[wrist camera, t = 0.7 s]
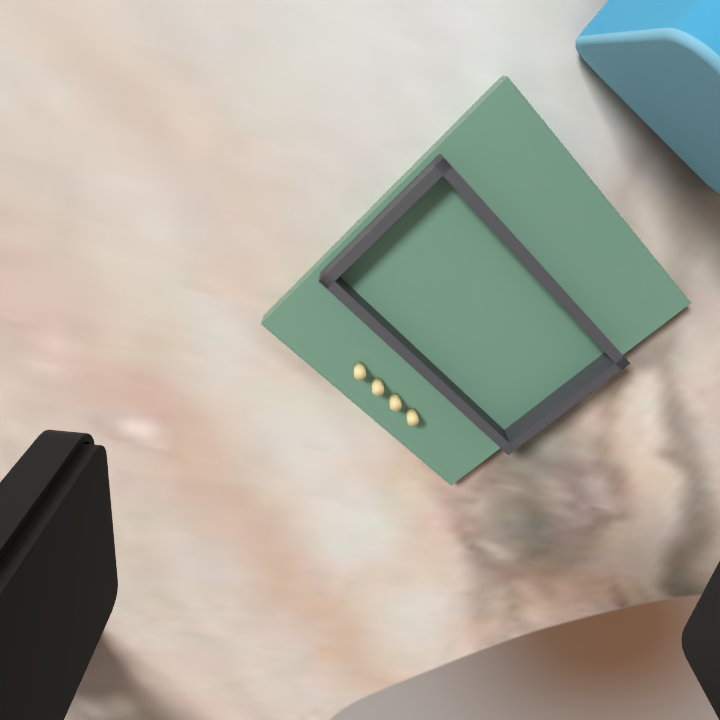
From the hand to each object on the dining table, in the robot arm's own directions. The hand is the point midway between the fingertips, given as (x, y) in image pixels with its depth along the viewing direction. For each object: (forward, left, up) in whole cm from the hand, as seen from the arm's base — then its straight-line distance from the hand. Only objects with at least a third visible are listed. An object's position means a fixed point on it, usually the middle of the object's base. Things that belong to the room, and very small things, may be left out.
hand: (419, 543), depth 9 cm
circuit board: (+1, +9, -26) cm, 28 cm away
